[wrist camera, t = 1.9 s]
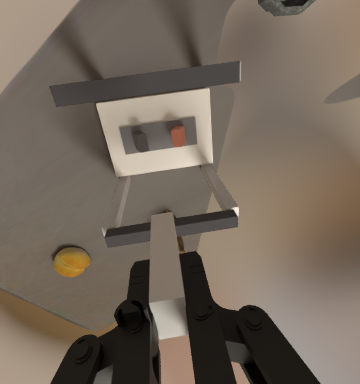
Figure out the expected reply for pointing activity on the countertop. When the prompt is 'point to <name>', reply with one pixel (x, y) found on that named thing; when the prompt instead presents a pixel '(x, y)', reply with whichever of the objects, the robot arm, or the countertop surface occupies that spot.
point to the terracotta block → (178, 136)
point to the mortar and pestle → (285, 6)
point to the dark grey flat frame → (145, 86)
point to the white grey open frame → (159, 141)
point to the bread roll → (71, 261)
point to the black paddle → (140, 141)
